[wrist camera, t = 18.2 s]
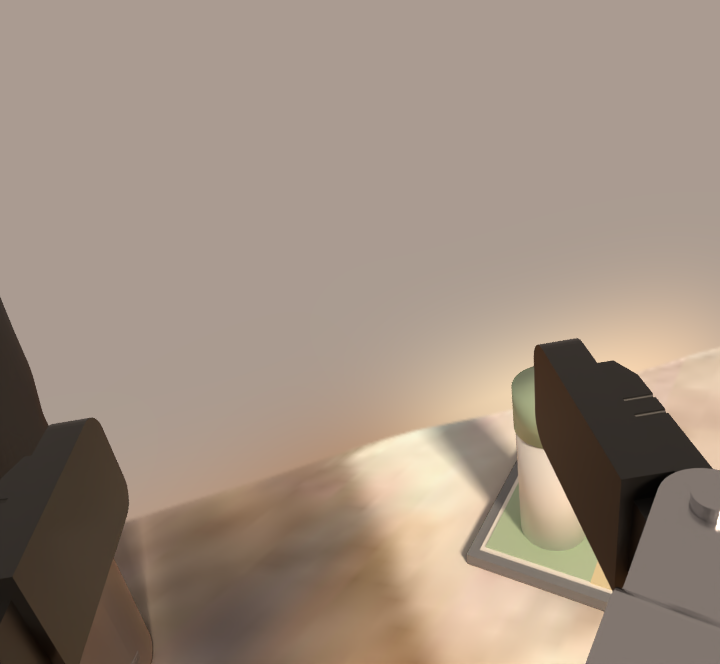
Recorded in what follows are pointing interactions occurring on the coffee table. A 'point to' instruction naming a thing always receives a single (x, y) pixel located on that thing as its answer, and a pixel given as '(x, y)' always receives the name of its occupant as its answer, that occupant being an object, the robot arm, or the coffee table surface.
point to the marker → (539, 478)
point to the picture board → (535, 554)
